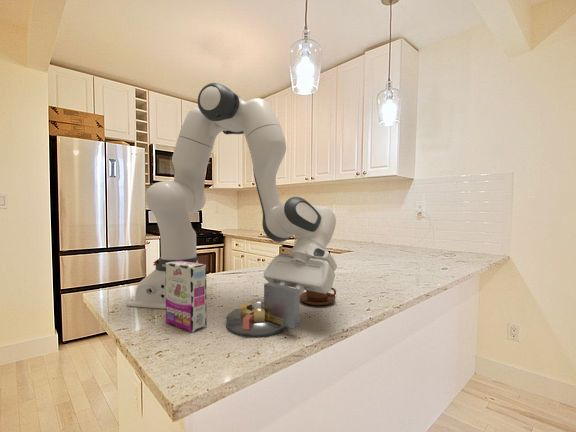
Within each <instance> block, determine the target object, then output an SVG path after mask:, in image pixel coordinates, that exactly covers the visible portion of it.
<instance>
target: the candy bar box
mask: <svg viewBox="0 0 576 432" xmlns="http://www.w3.org/2000/svg"><path fill="white" fill-rule="evenodd" d="M165 265H166V309H165V324H166V325H170V326H172V327H176V328H179V329H181V330H184V331H187V332H189V333H195V332H198V331H199V330H200V331H201V330H202V329H204V328H206V327H207V325H208V324H207V322H208V321H207V318H208V317H207V313H208V312H207V264H205V263H200V262H198V263H193V262H186V261H173V262H168V263H165Z"/></svg>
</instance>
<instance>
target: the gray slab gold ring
mask: <svg viewBox="0 0 576 432" xmlns="http://www.w3.org/2000/svg"><path fill="white" fill-rule="evenodd" d="M263 296H264V297H263V299H264V309H252V301H250V302H241V303H240V304H239V305H240V306H239V308H240V317H241V319H243V318H244V317H245V316H246V315H247V314H251V315H254V322H265V320H266V321H271V322H274V323H277V324H280V325H284V326H287V327H289V328H290V329H293V330H295V329H297V328H299V327H300V305H301V304H300V303H301V300H300V290H299V289H296V288H294V287H286V286H282V285H278V284H274V283H269V282H266V283H264V284H263ZM254 299H255V298H253V300H254Z"/></svg>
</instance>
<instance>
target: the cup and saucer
mask: <svg viewBox="0 0 576 432" xmlns="http://www.w3.org/2000/svg"><path fill="white" fill-rule="evenodd" d="M330 291H333V293H332V292H331V293H330V292H328V293H326V294H324V293H319V292H314V291H309V290H305V291H304V292H303V294H301V295H300V302H302V303H305V304H308V305H312V306H313V305H314V306H325V305H326V306H327V305H330V304H332V303H334V301H336V298H337V297H336V294H337V291H336V289H335V288H334V287H332V288H331V290H330Z"/></svg>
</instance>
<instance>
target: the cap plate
mask: <svg viewBox="0 0 576 432" xmlns="http://www.w3.org/2000/svg"><path fill="white" fill-rule="evenodd" d="M253 299H254V300H251V302H252V309H264V298H253ZM225 318H226V322H225V323H226V325H225V326H226V329H227V330H228V331H229V332H230V333H232V334H234V335H237V336H241V337H245V338H264V337H265V338H266V337H271V336H275V335H276V336H277V335H279V334H281V333H283V332H285V331H287V330H288V329H289V328H290V327H287V326H284V325H280V324H277V323H274V322H271V321H266V320H265V322H254V315H251V314H247V315H246V316H245V317H244V318H243V319H241V317H240V307H237V308H235V309H233V310H232V311H230V312H229V313H227V315H226V317H225Z"/></svg>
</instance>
